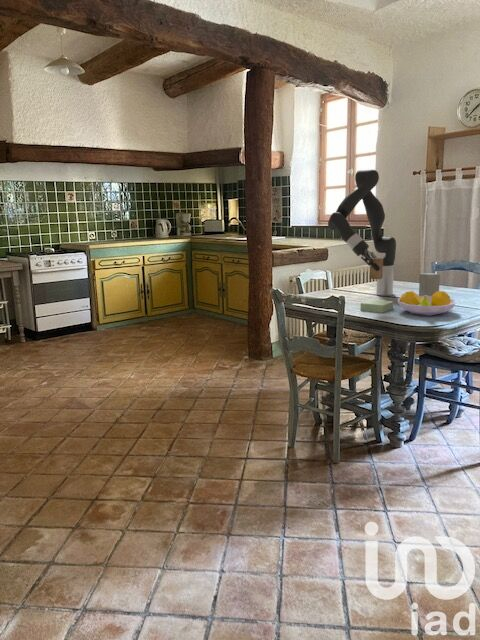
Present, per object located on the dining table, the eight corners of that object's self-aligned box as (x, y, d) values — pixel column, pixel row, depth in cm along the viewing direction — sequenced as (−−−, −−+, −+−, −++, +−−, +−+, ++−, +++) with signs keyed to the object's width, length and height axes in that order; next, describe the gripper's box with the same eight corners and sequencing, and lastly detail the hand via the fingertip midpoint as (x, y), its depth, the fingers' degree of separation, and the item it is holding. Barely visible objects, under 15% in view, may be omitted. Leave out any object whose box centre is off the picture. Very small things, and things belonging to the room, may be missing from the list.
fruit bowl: (408, 305, 268) (409, 283, 265) (462, 310, 251) (464, 288, 248) (386, 315, 247) (386, 291, 244) (443, 322, 230) (445, 297, 227)
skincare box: (425, 305, 266) (427, 274, 263) (417, 302, 273) (418, 273, 270) (439, 303, 269) (441, 273, 265) (431, 301, 275) (432, 272, 272)
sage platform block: (371, 306, 268) (371, 299, 268) (392, 309, 261) (393, 301, 260) (360, 310, 260) (360, 302, 259) (382, 313, 252) (382, 305, 251)
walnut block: (372, 277, 260) (373, 257, 258) (382, 278, 258) (383, 258, 256) (369, 278, 256) (370, 258, 254) (379, 279, 254) (380, 259, 252)
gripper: (358, 240, 251) (381, 265, 247) (366, 238, 263) (389, 262, 259) (347, 251, 254) (370, 276, 251) (356, 248, 266) (378, 272, 263)
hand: (380, 269), depth 255 cm, fingers closed on walnut block, 5 cm apart
